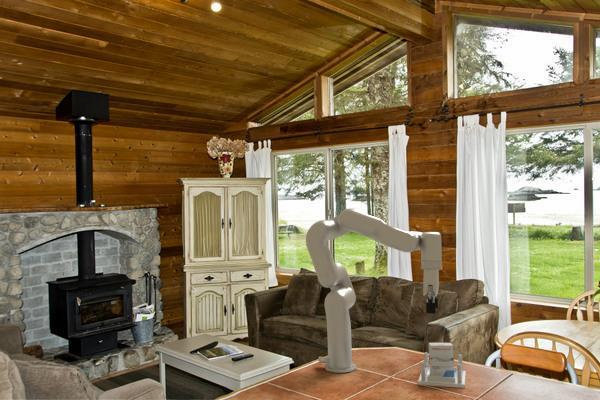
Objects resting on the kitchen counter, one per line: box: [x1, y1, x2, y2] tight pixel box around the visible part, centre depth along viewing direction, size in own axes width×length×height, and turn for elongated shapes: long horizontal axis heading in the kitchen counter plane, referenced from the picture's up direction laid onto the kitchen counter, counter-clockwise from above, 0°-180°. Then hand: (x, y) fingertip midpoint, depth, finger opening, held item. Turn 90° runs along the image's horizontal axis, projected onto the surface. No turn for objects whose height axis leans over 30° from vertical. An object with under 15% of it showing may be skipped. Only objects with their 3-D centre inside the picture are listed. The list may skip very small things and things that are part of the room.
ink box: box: [428, 342, 455, 378], centre depth 195 cm, size 8×5×12 cm, turn 82°
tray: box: [417, 352, 467, 389], centre depth 195 cm, size 16×16×8 cm
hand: (432, 310), depth 198 cm, fingers open, 9 cm apart
